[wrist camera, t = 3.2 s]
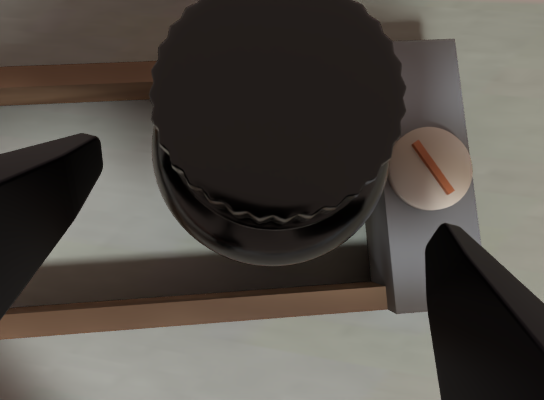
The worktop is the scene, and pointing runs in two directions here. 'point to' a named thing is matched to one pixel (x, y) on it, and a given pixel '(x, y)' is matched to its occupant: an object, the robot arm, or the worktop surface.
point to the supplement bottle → (274, 124)
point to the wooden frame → (379, 226)
